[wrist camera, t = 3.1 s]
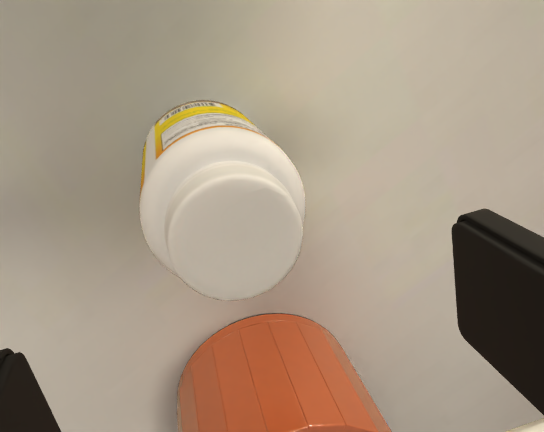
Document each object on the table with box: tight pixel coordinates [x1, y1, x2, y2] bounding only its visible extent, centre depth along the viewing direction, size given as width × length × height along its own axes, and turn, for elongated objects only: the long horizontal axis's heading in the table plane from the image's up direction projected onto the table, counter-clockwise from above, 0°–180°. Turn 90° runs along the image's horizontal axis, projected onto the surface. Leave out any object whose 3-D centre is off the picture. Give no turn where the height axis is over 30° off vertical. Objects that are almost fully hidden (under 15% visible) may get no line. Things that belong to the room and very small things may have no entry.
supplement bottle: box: [139, 100, 306, 301], centre depth 19 cm, size 6×6×10 cm
